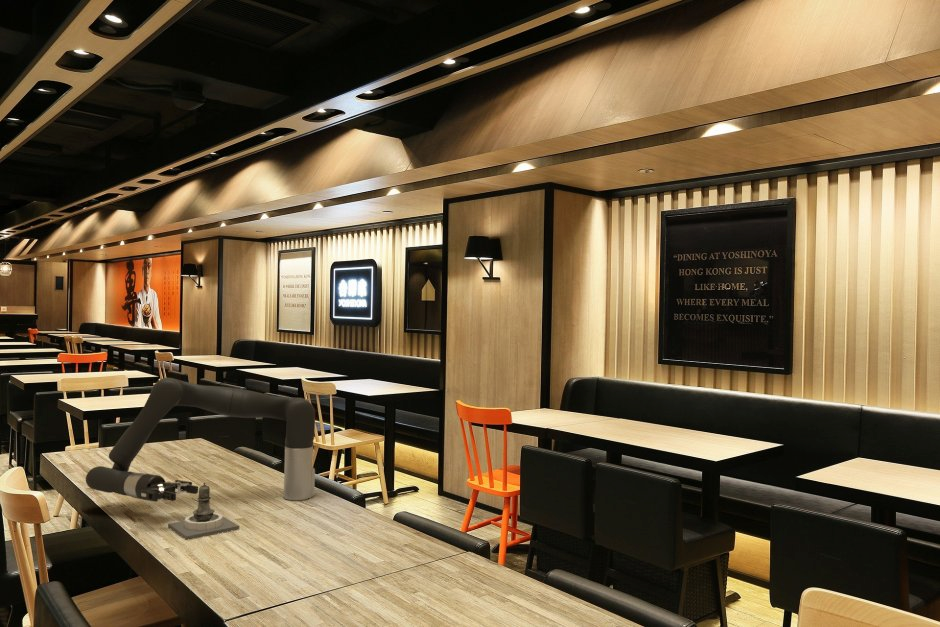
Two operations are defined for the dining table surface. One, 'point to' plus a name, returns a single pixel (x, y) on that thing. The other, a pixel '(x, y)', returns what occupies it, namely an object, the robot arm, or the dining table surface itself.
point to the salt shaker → (203, 505)
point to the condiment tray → (202, 533)
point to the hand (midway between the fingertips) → (186, 493)
